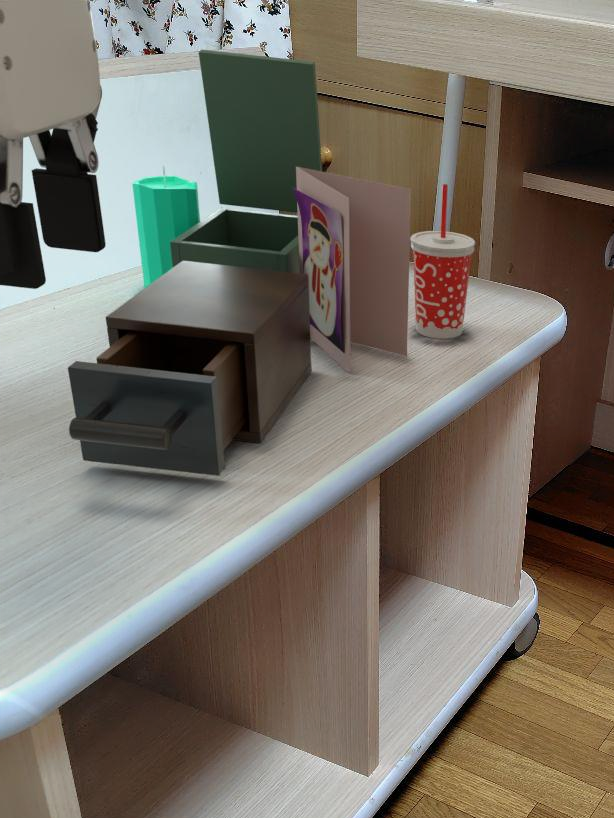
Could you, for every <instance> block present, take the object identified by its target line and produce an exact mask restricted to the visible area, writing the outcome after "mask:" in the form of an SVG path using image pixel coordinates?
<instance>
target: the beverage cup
mask: <svg viewBox="0 0 614 818" xmlns="http://www.w3.org/2000/svg"><path fill="white" fill-rule="evenodd" d="M448 188H449V185H448V183H442V191H441V216H440V230H427V231H419V232H416V233H412V235H410V247H411V249H412V253H413V254H412V255H413V282H414V284H413V285H414V309H415V310H414V311H415V312H414V313H415V330H416V332H417V333H418V334H419V335H421V336H424V337H428V338H432V339H441V340H442V339H447V340H448V339H454V338H457V337H459V336H461V335H462V333H463V331H464V322H465V321H464V320H465V315H466V314H465V313H466V305H467V304H466V303H467V296H468V287H469V278H470V271H471V262H472V254H474V252H475V246H476V241H475V240H474V238H473V237H470V236H468V235H466V234H462V233H458V232H453V231H447V216H448V215H447V213H448Z"/></svg>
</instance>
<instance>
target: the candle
mask: <svg viewBox="0 0 614 818" xmlns="http://www.w3.org/2000/svg"><path fill="white" fill-rule="evenodd" d="M162 174H163V175H156V176H147V177H146V176H145V177H143V178H140V179H138V180H135V181H134V182H132V184H131V185H132V193H133V199H134V200H133V201H134V210H135V219H136V225H137V226H136V227H137V234H138V242H139V243H138V244H139V251H140V261H141V268H142V276H143V285H144V289H145V288H146V287H147V286H149V285H150V284H151V283H153V282H154V281H156V280H157V279H158V278H160V277H161V276H162V275H164V274H165V273H166V272H168V271H169V270H170V269H172V268H173V265H172V256H171V246H170V242H171V241H172V240H174V239H175V238H177V237H178V236H180V235H181V234H183V233H184V232H186V231H187V230H189V229H190V228H192V227H193V226H195V225H196V224H197V223H199V222H200V221H201V215H200V203H199V202H200V201H199V192H198V191H199V190H198V182H197V181H190V180H187V179H186V178H182V177H181V176H178V175H166V170H165V165H162Z"/></svg>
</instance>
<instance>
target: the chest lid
mask: <svg viewBox="0 0 614 818" xmlns="http://www.w3.org/2000/svg"><path fill="white" fill-rule="evenodd" d="M198 58H199V65H200V72H201V79H202V80H201V81H202V88H203V94H204V101H205V108H206V118H207V122H208V129H209V130H208V131H209V137H210V144H211V145H210V146H211V151H212V160H213V166H214V172H215V174H214V175H215V180H216V188H217V195H218V202H219V205H225V206H234V207H241V208H242V207H243V208H251V209H262V210H269V211H278V212H287V213H288V212H289V213H297V214H298V210H297V199H296V196H295V194H294V191H293V189H292V187H293V188H295V189H297V181H296V167H301V168H306V169H311V170H316V171H321V172H323V162H322V146H321V132H320V117H319V115H320V114H319V103H318V102H319V100H318V88H317V73H316V62H315V61H310V60H309V61H308V60H301V59H291V58H282V57H272V56H263V55H255V54H245V53H239V52H238V53H237V52H236V53H235V52H229V51H228V52H227V51H217V50H209V49H200V50H199V51H198Z"/></svg>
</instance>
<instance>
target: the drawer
mask: <svg viewBox="0 0 614 818" xmlns="http://www.w3.org/2000/svg"><path fill="white" fill-rule="evenodd" d="M67 372H68V378H69V384H70V389H71V396H72V401H73V408H74V414H75V417H73V418H72V419H71V421H70V423H69V427H68V432H69V433H68V434H69V436H70V438H71V439H72V440H74V441H79V444H80V450H81V456H82V461H85V462H93V463H102V464H109V465H121V466H128V467H136V468H137V467H138V468H147V469H155V470H162V471H163V470H164V471H174V472H180V473H181V472H182V473H192V474H201V475H208V476H209V475H210V476H217V477H219V476H220V475H221V474H222V472H223V471H224V470H225V468H226V467H225V465H226V464H225V456H224V455H225V453H224V451H225V450H226V448H227V447H228V446H229V445H230V444H231V442H232V441H233V440H232V439H233V438H234V437H235V435H236V434H237V433H238V431H239V430H240V429H241V428H242V426H243V425H244V424H245V422H246V421H247V420H248V418H249V411H248V396H247V382H246V367H245V352H244V343H242V342H233V341H224V340H215V339H206V338H197V337H188V336H179V335H170V334H161V333H152V332H143V331H134V330H131V331H129V332H128V333H127V334H126V335H124V336H123V337H122V338H121V339H119V340H118V341H117V342H116V343H114V344H113V345H112V346H111V347H110V346H109V347H108V348H107V349H105V350H104V351H103V352H102V353H100V354H99V355H97V357H96V362H89V361H81V360H76V361H75V360H74V362H72V363H71V364H70V365H69V366H68V367H67Z"/></svg>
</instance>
